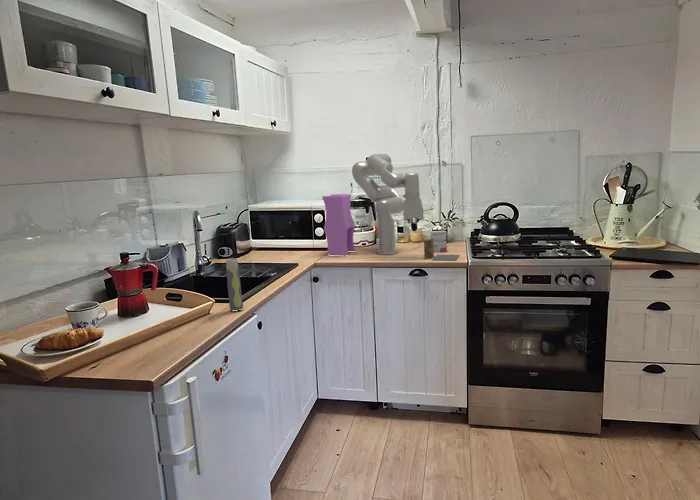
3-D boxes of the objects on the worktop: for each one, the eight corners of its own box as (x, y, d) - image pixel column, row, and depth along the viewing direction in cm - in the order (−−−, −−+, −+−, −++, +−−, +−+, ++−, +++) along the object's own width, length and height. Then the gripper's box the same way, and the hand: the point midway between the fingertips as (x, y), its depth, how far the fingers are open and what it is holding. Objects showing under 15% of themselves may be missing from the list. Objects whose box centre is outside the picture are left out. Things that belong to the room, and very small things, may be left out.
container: (334, 252, 292) (331, 194, 286) (356, 252, 287) (352, 193, 281) (325, 256, 279) (321, 196, 273) (348, 256, 274) (344, 195, 268)
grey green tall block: (228, 310, 180) (222, 258, 177) (240, 307, 183) (235, 256, 179) (233, 313, 176) (227, 260, 173) (245, 310, 179) (240, 257, 175)
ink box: (446, 250, 275) (445, 230, 273) (447, 252, 270) (446, 231, 268) (430, 251, 276) (430, 230, 274) (431, 252, 271) (430, 232, 269)
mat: (432, 260, 249) (432, 259, 249) (437, 255, 262) (437, 254, 262) (455, 260, 245) (455, 259, 245) (459, 255, 258) (459, 254, 258)
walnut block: (424, 258, 254) (423, 240, 253) (426, 256, 260) (426, 238, 258) (431, 259, 253) (431, 240, 251) (434, 256, 259) (433, 238, 257)
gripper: (397, 197, 253) (399, 232, 255) (425, 196, 247) (426, 231, 250) (400, 197, 260) (402, 230, 262) (427, 195, 254) (429, 229, 257)
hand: (414, 230), depth 256 cm, fingers closed
